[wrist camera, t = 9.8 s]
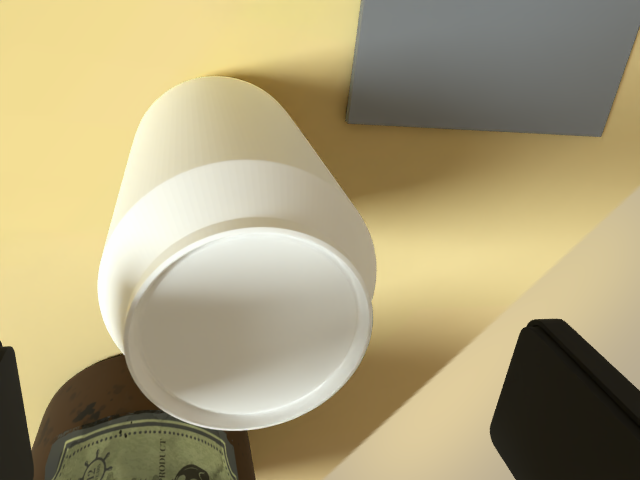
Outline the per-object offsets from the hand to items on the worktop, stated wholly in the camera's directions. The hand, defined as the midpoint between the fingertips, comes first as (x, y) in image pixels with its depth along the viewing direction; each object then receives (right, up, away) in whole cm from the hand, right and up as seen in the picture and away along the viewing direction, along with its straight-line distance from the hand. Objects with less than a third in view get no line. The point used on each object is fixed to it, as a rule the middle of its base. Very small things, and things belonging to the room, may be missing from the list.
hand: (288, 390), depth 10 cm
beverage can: (-3, +6, +11) cm, 13 cm away
